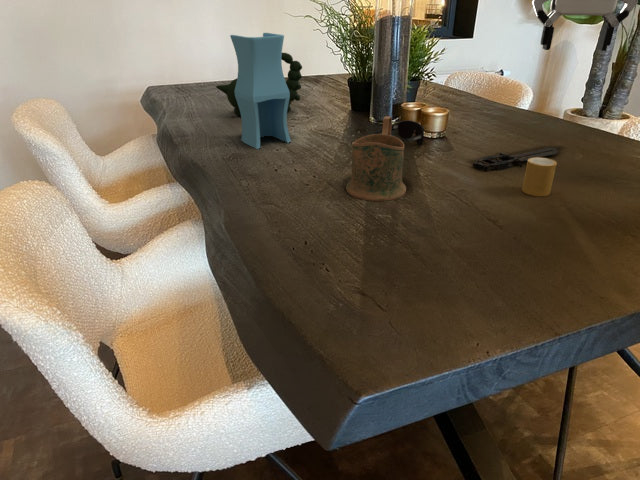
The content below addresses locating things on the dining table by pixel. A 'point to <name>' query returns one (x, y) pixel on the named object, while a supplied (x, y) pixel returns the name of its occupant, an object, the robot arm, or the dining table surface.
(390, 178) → the bronze bell
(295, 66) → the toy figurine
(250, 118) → the teal arched pillar
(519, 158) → the knife
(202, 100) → the dining table surface
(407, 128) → the sunglasses
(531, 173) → the candle holder
